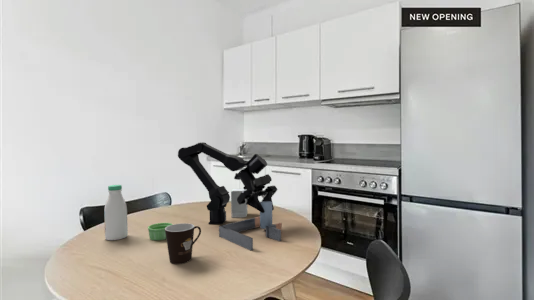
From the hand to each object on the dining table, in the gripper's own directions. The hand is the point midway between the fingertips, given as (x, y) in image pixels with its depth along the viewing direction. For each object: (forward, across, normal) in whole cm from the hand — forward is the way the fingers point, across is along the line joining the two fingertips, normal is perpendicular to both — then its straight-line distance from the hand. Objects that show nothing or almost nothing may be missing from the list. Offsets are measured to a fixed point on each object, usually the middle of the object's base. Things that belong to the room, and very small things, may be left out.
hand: (268, 211), depth 115 cm
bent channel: (+6, -8, +5) cm, 11 cm away
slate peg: (+4, 0, +6) cm, 7 cm away
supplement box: (-14, +8, +25) cm, 30 cm away
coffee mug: (+6, -37, +6) cm, 38 cm away
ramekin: (-12, -32, +24) cm, 42 cm away
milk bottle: (-21, -44, +33) cm, 59 cm away
